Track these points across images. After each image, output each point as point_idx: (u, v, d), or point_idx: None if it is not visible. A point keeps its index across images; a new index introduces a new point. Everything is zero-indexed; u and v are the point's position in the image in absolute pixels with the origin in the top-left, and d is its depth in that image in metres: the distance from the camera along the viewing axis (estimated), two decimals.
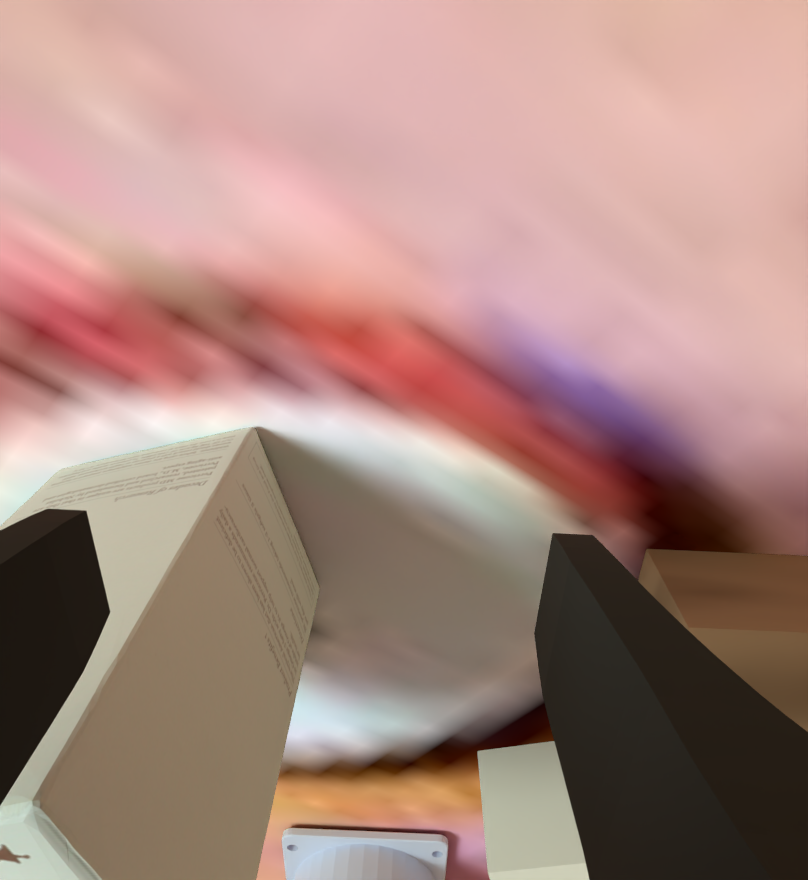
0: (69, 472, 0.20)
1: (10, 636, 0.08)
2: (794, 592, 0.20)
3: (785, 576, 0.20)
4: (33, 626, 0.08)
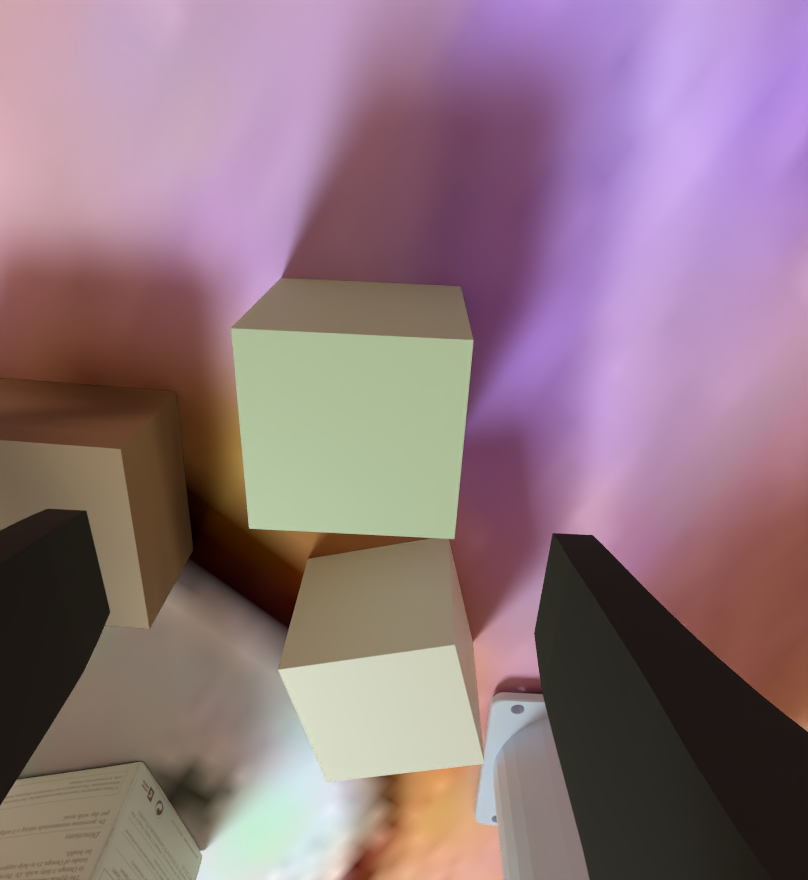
0: None
1: (10, 636, 0.08)
2: None
3: None
4: (33, 626, 0.08)
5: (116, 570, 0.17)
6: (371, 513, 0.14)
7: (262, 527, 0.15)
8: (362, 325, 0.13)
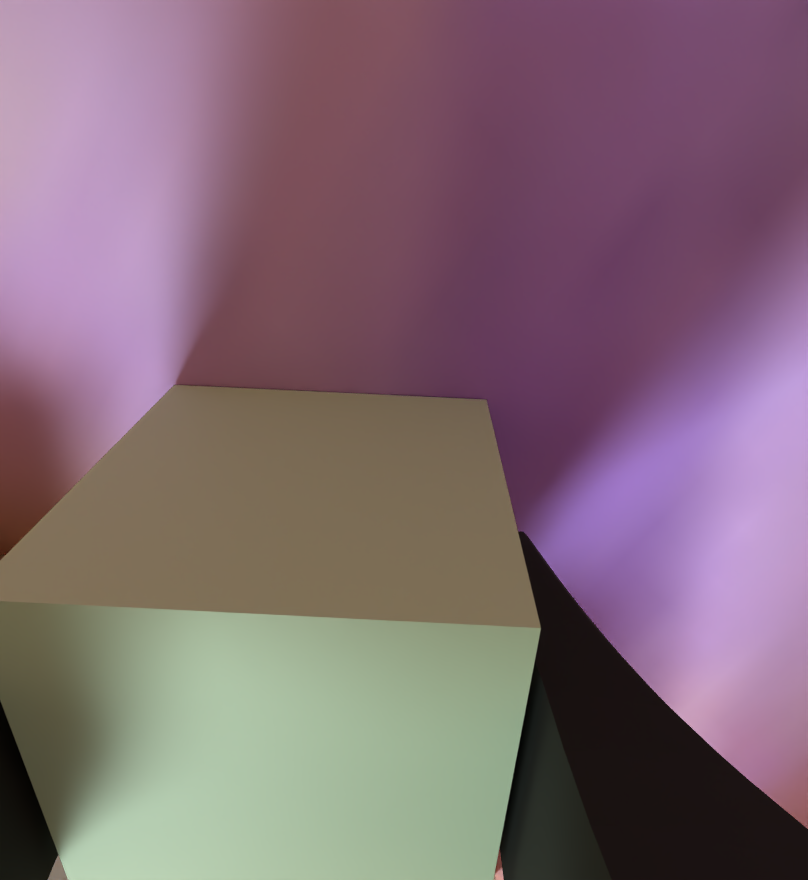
0: None
1: None
2: None
3: None
4: None
5: None
6: None
7: None
8: (283, 566, 0.06)
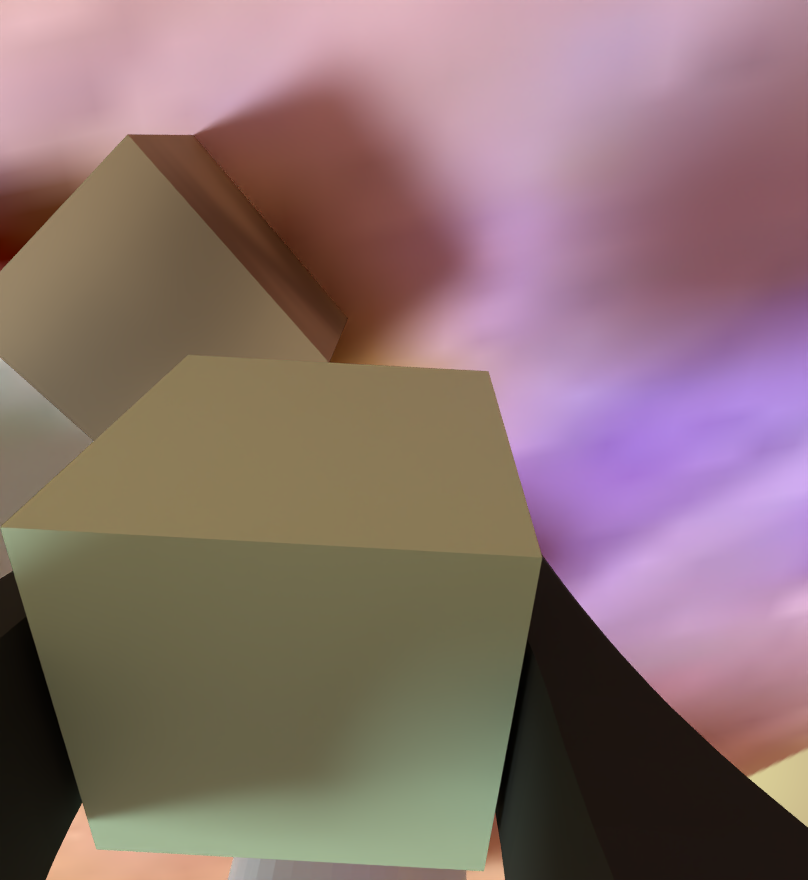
0: None
1: None
2: None
3: None
4: None
5: None
6: (326, 832, 0.08)
7: (121, 847, 0.08)
8: (300, 505, 0.06)
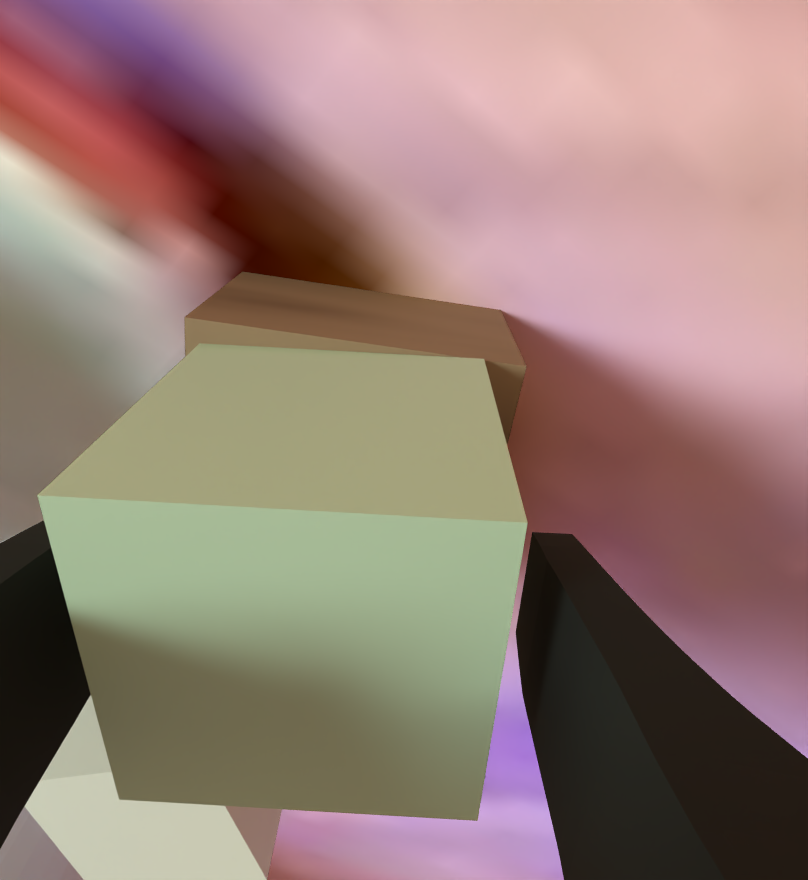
0: None
1: (35, 637, 0.08)
2: (421, 322, 0.12)
3: (428, 312, 0.13)
4: (56, 627, 0.08)
5: None
6: (332, 783, 0.08)
7: (142, 798, 0.08)
8: (307, 477, 0.07)
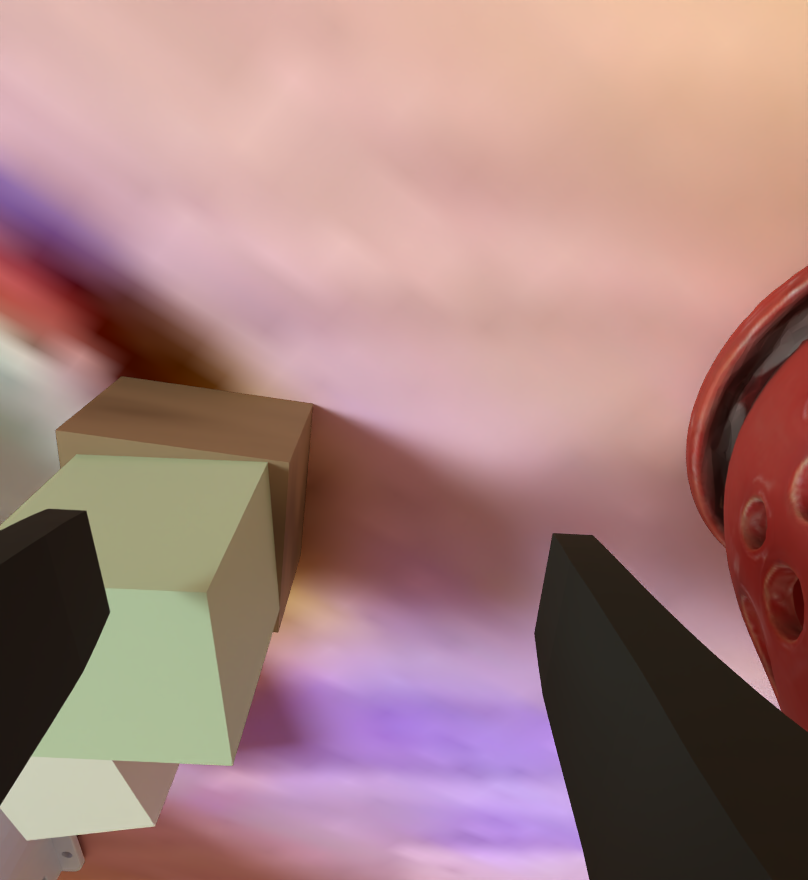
0: None
1: (11, 636, 0.08)
2: (236, 422, 0.17)
3: (249, 411, 0.18)
4: (33, 626, 0.08)
5: None
6: (138, 743, 0.13)
7: None
8: None
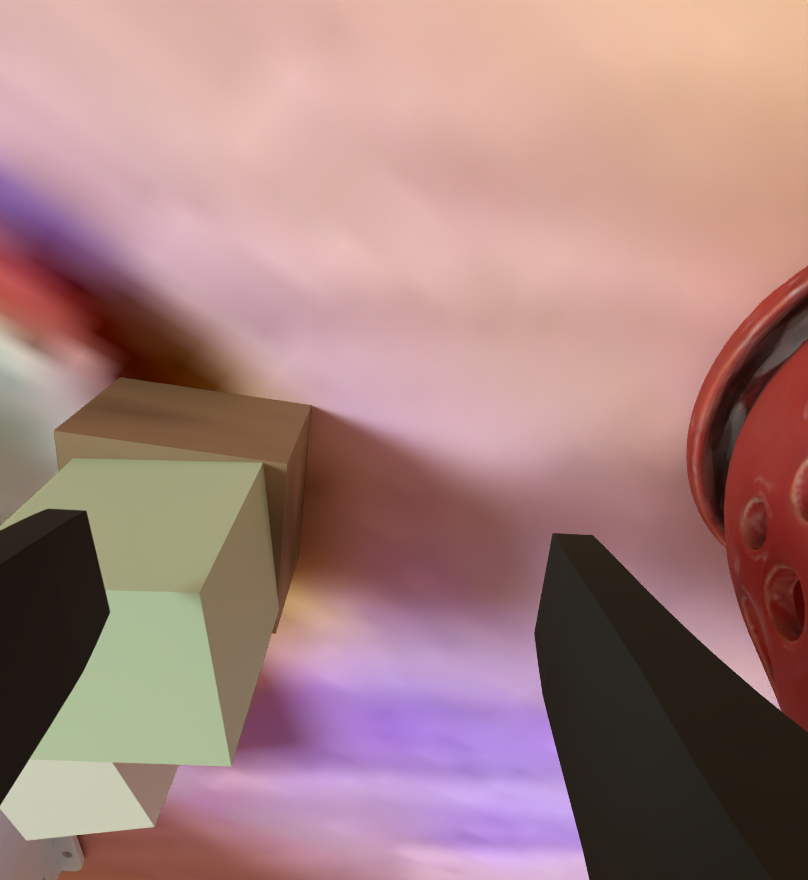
0: None
1: (11, 636, 0.08)
2: (234, 423, 0.17)
3: (247, 412, 0.18)
4: (33, 626, 0.08)
5: None
6: (136, 745, 0.13)
7: None
8: None
